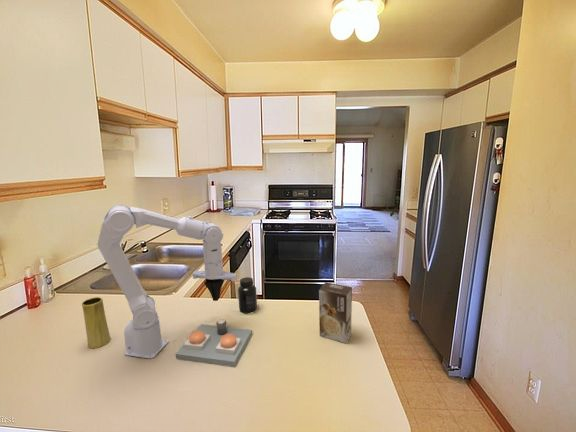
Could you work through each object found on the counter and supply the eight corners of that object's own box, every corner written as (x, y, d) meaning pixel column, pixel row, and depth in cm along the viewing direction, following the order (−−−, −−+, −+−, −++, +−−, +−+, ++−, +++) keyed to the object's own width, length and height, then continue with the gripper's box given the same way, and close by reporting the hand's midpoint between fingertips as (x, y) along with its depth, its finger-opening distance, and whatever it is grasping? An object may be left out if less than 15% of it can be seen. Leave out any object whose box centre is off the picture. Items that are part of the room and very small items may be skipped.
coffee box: (352, 332, 93) (353, 286, 90) (346, 344, 87) (347, 295, 84) (325, 325, 97) (325, 281, 94) (318, 336, 92) (318, 289, 88)
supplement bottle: (258, 305, 111) (257, 276, 109) (255, 314, 105) (253, 284, 102) (241, 304, 112) (239, 275, 110) (236, 313, 105) (234, 283, 103)
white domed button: (215, 334, 91) (214, 323, 90) (219, 329, 94) (219, 318, 93) (224, 335, 90) (223, 324, 89) (228, 330, 93) (227, 318, 92)
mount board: (175, 358, 83) (174, 349, 82) (201, 328, 97) (200, 320, 96) (234, 366, 79) (234, 357, 78) (252, 334, 93) (251, 326, 93)
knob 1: (187, 352, 85) (185, 339, 84) (195, 342, 90) (193, 329, 89) (201, 354, 84) (200, 340, 83) (208, 344, 89) (207, 331, 88)
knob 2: (218, 356, 83) (217, 342, 82) (225, 346, 88) (224, 333, 87) (233, 358, 82) (232, 344, 81) (239, 347, 87) (238, 334, 86)
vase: (99, 349, 87) (92, 306, 84) (82, 347, 88) (74, 305, 85) (115, 337, 93) (108, 297, 90) (99, 335, 94) (92, 295, 91)
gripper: (239, 257, 95) (241, 295, 97) (198, 255, 98) (202, 292, 100) (230, 265, 88) (233, 305, 91) (187, 262, 91) (191, 302, 94)
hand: (216, 299), depth 95 cm, fingers closed
